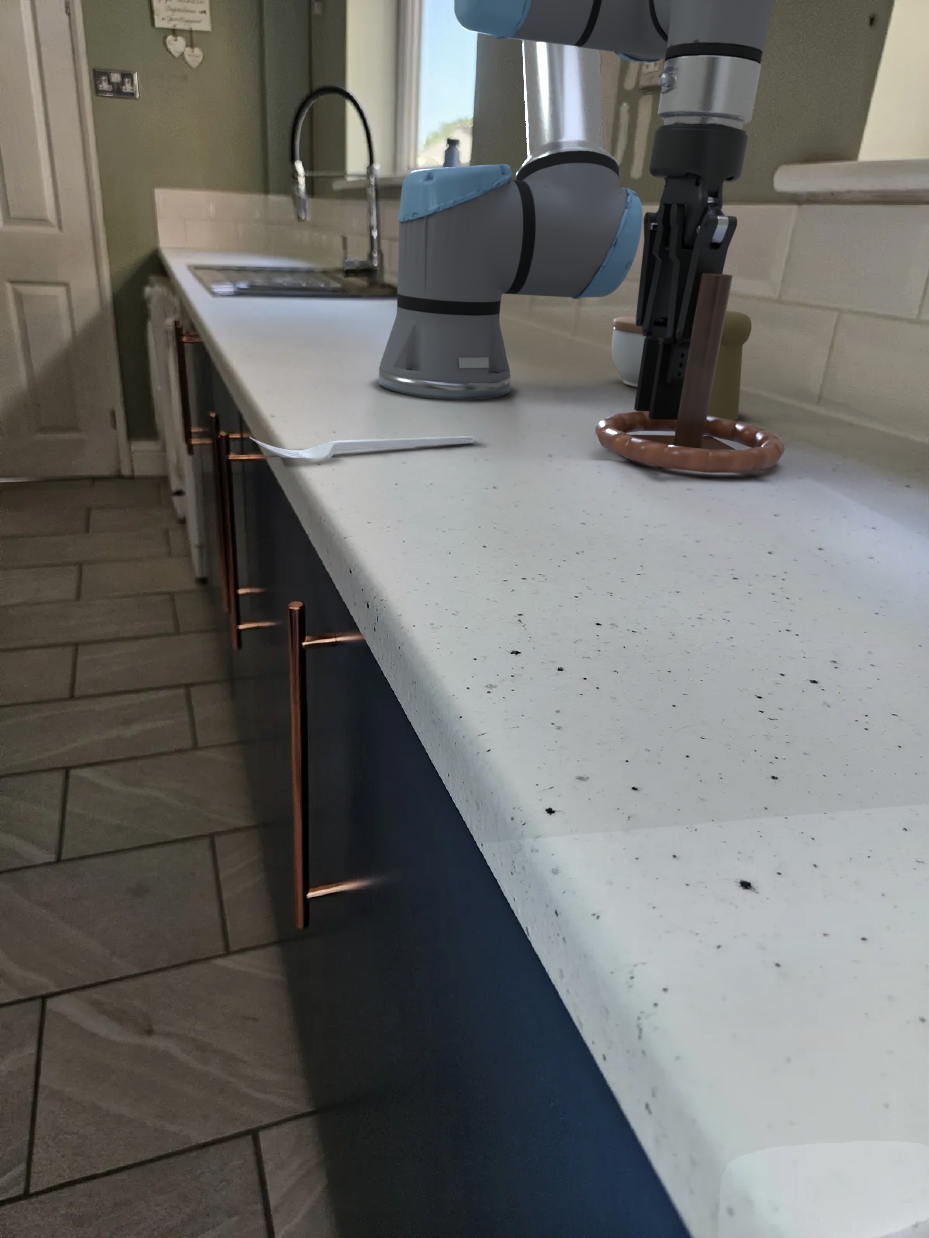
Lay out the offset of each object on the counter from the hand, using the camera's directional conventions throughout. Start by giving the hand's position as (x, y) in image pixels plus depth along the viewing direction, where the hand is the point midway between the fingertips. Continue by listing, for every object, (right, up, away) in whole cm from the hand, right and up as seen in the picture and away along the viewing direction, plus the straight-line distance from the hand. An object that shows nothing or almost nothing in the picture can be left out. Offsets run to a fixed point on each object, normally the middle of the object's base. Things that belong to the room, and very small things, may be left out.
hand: (656, 414), depth 81 cm
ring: (+1, -4, -6) cm, 7 cm away
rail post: (+1, -6, -5) cm, 8 cm away
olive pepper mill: (+10, +4, +16) cm, 19 cm away
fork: (-26, -5, -8) cm, 28 cm away
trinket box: (+6, +11, +32) cm, 35 cm away
